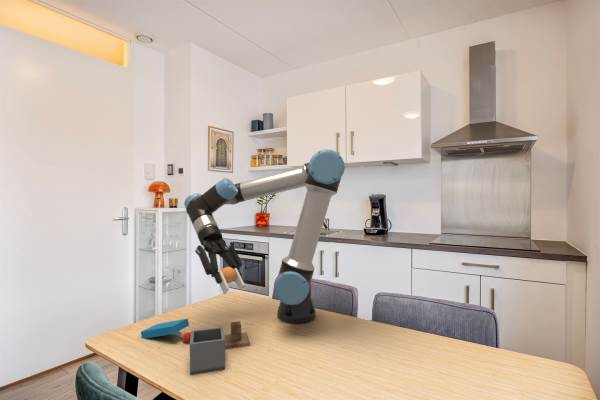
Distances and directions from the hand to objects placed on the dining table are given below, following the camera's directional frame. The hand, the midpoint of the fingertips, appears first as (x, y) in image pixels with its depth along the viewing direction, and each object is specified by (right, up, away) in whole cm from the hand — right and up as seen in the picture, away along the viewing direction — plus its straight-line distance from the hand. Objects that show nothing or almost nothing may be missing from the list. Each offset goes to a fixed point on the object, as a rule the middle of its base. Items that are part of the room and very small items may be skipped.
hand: (234, 289), depth 95 cm
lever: (-23, -19, +8) cm, 31 cm away
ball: (-3, +4, +3) cm, 5 cm away
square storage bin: (-6, -18, -8) cm, 21 cm away
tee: (-1, -18, +5) cm, 19 cm away
